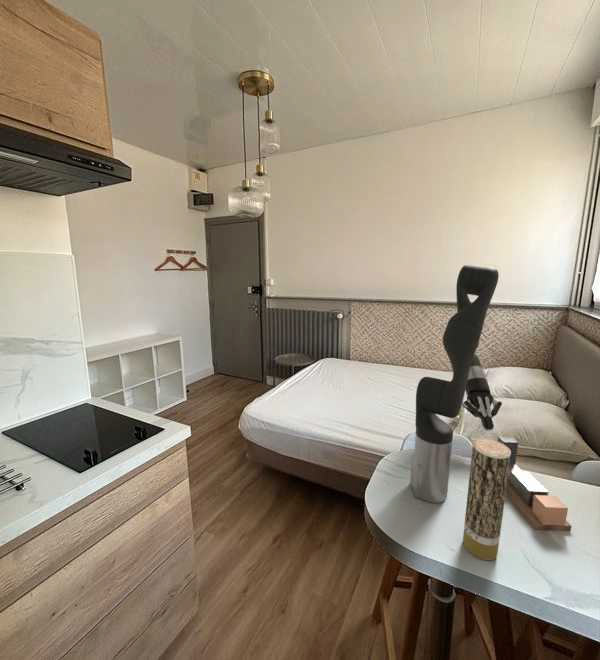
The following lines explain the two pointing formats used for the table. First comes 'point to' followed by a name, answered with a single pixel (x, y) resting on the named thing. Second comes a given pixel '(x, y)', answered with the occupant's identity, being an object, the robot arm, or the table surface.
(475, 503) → the bark covered log
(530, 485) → the outer sleeve
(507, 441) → the brushed grey metal block
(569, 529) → the guide board
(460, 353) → the robot arm
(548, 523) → the socket
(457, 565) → the table surface
